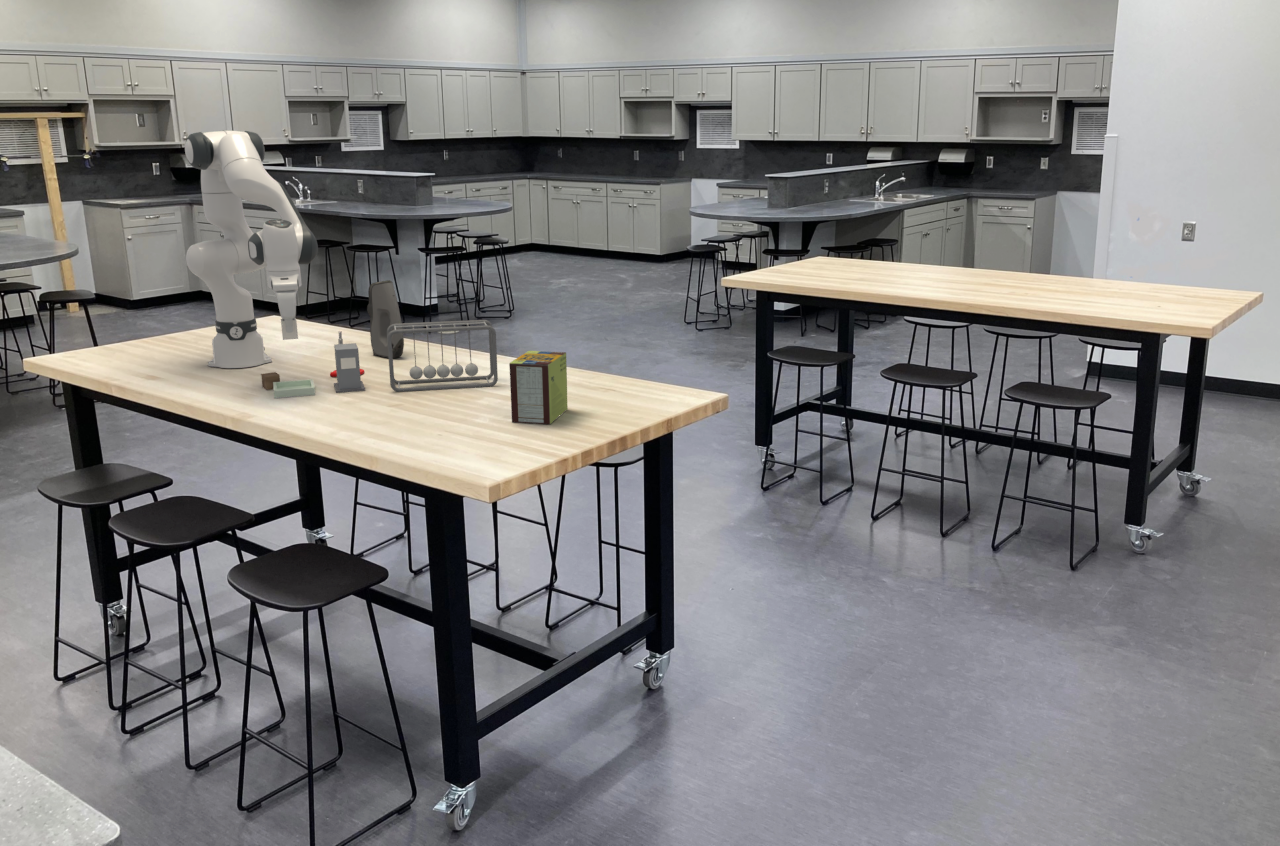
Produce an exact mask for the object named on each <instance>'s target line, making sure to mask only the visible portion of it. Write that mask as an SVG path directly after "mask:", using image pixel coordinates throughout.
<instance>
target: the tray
mask: <svg viewBox="0 0 1280 846" xmlns="http://www.w3.org/2000/svg"><path fill="white" fill-rule="evenodd" d="M272 390H273V398H274V399H280V398H281V399H282V398H293V397H304V396H316V388H315V383H314V379H313V378H311V379H310V378H309V379H297V380H284V381H283V380H282V381H280V382H273V389H272Z"/></svg>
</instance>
